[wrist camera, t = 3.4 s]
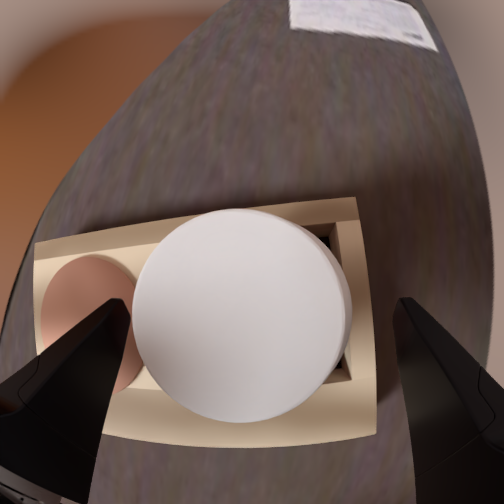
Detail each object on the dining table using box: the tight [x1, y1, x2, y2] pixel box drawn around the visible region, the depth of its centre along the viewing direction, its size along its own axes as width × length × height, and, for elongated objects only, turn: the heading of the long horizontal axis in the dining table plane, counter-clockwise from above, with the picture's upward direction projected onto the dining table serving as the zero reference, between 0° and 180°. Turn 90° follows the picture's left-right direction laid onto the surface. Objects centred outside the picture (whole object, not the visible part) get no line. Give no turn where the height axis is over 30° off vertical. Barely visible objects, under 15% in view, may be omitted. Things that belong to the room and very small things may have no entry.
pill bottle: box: [132, 209, 352, 423], centre depth 11 cm, size 6×6×11 cm
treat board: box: [34, 197, 376, 448], centre depth 15 cm, size 12×20×3 cm, turn 95°
